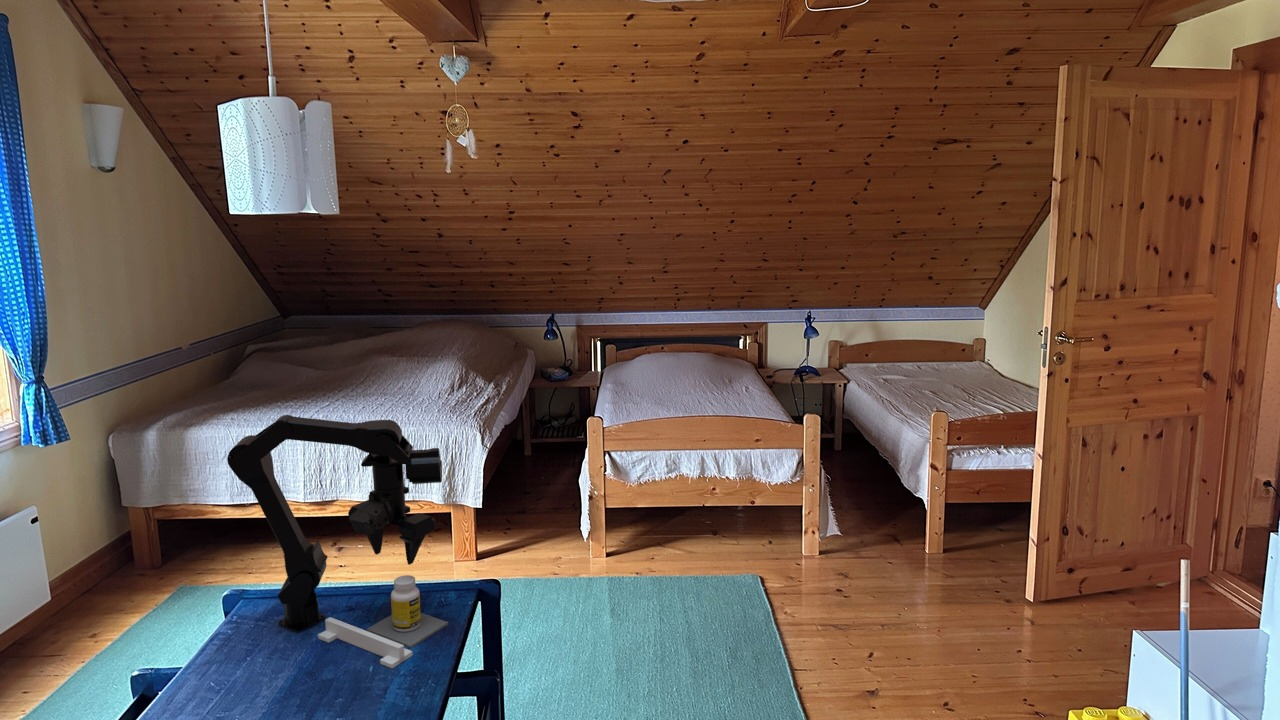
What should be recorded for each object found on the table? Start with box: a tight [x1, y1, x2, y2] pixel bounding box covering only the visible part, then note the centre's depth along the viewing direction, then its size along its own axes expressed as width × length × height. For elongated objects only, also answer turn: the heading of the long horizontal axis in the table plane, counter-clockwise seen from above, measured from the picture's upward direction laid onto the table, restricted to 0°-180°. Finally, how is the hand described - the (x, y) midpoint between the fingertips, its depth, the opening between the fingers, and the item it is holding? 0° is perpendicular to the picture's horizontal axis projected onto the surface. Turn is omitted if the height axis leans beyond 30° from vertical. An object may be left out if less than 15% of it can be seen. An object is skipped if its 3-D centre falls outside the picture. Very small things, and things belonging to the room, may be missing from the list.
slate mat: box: [365, 612, 449, 649], centre depth 161 cm, size 12×10×1 cm
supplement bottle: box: [390, 574, 421, 632], centre depth 160 cm, size 5×5×10 cm
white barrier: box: [317, 617, 413, 669], centre depth 154 cm, size 20×5×3 cm, turn 60°
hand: (393, 558), depth 164 cm, fingers open, 9 cm apart
